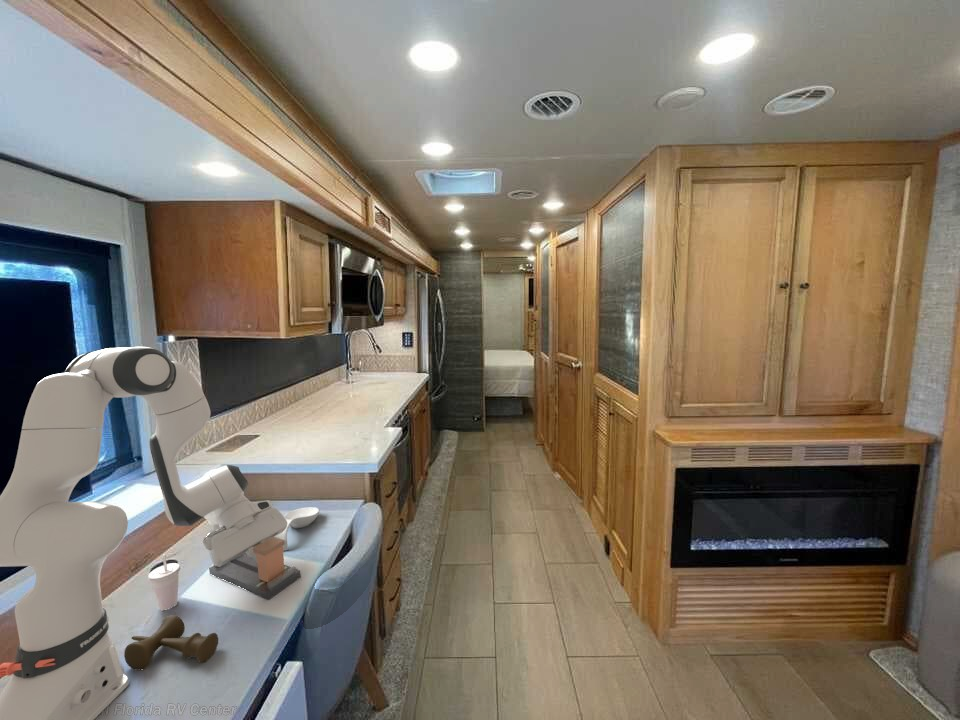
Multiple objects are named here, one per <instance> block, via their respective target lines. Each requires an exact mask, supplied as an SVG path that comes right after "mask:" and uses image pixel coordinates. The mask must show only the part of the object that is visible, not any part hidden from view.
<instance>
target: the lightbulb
mask: <svg viewBox="0 0 960 720" xmlns="http://www.w3.org/2000/svg"><path fill="white" fill-rule="evenodd" d="M204 519H205V520H206V521H207V523H208V524H209V529H210V531H211V532H214V531H216V530H217V529H219V528H221V526H220V524H219V523H218V521H217V519H216V515H215V513H214V512H211V513H210V514H208V515H206V516H204Z"/></svg>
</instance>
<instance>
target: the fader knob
mask: <svg viewBox="0 0 960 720" xmlns="http://www.w3.org/2000/svg"><path fill="white" fill-rule="evenodd" d="M284 544H285V540H283V539H279V538H276V537H271V538H270V539H268V540H266V541H264V542H262V543H261V544H259V545H257V546H255V547H253V552H255V553H256V556H257V565H258V575H259V579H260V580H263V581H265V582H268V583H269V582H270V581H272V580H273V579H275V578H276V577H278V576H279V575H281V574H282V573H284V572H285V567H284V565H285V559H284V551H283V545H284Z"/></svg>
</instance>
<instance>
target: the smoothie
mask: <svg viewBox="0 0 960 720" xmlns="http://www.w3.org/2000/svg"><path fill="white" fill-rule="evenodd" d="M166 558H167V557H166V554H165V553H163V554H162V563H163V565H161V566H158V567H156V568H154V569H152V571H150V573H148V582H150V584H151V586H152V589H153V593H154V596H155V599H156V602H157V606H158V608H159V610H160V611H161V610H165V609H168V608H171V607H173V606H174V605H175V606H176V605H177V604H178V603H177V602H178V601H179V572H180V570H181V567H180V564H179V563H176V562H172V563H167V559H166ZM175 606H174V607H175ZM174 607H173V608H174ZM171 609H172V608H171ZM168 610H169V609H168ZM165 611H166V610H165Z"/></svg>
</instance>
